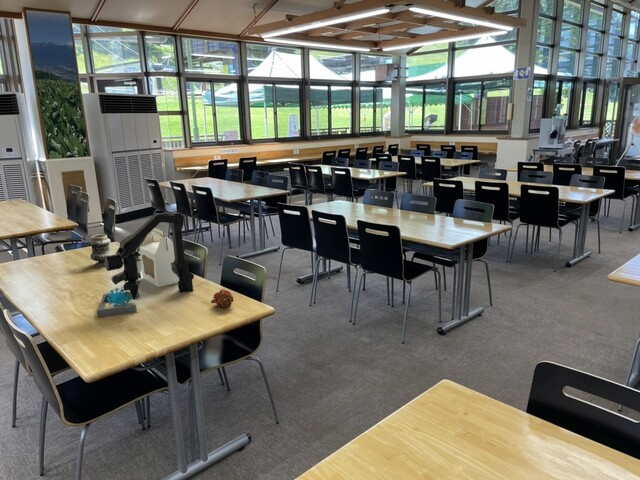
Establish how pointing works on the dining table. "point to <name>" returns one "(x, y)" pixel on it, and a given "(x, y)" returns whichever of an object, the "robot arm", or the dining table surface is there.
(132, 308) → the gear seat
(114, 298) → the gear
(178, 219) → the robot arm
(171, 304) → the dining table surface
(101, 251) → the apothecary jar
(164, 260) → the gable box
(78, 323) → the dining table surface
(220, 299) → the dragon fruit
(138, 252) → the house plant
